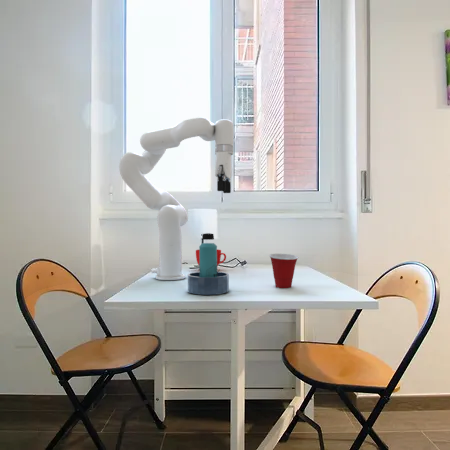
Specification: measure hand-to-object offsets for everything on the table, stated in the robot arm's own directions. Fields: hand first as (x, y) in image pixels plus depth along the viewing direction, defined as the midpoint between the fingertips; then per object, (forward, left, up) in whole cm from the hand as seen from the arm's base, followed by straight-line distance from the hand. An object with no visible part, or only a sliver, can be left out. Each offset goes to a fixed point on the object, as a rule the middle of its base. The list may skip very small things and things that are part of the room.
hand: (224, 192), depth 146 cm
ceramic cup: (-14, +30, -37) cm, 50 cm away
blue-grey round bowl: (0, -24, -37) cm, 44 cm away
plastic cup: (+25, -9, -37) cm, 46 cm away
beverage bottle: (0, -24, -37) cm, 44 cm away
